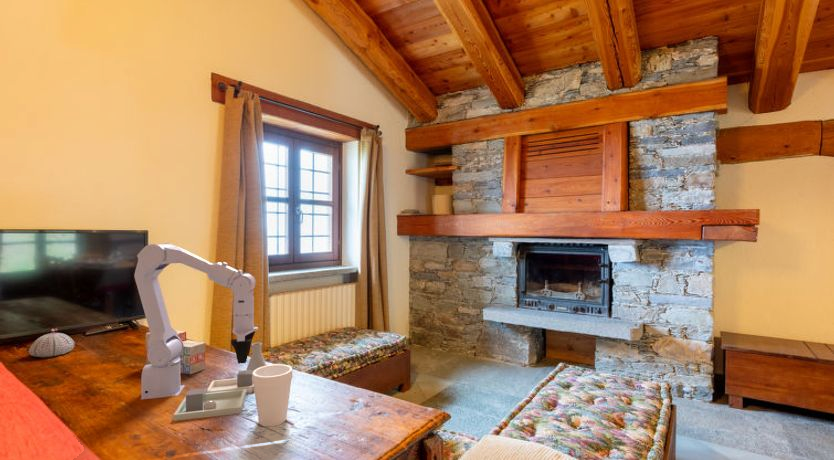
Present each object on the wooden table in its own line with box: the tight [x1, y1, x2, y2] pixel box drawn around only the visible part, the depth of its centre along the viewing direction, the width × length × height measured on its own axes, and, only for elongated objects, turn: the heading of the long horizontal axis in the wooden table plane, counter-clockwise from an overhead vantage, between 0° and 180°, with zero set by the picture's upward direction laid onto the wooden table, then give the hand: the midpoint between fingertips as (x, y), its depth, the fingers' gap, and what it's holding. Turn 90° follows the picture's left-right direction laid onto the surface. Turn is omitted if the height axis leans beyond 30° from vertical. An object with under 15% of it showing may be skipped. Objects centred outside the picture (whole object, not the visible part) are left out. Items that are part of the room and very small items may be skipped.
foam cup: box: [252, 363, 293, 427], centre depth 103 cm, size 10×9×13 cm
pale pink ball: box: [204, 400, 216, 410], centre depth 107 cm, size 3×3×3 cm
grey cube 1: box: [236, 369, 253, 387], centre depth 124 cm, size 4×4×4 cm
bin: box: [172, 389, 247, 422], centre depth 111 cm, size 16×13×2 cm
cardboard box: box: [145, 329, 206, 375], centre depth 143 cm, size 21×6×12 cm, turn 69°
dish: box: [206, 377, 255, 394], centre depth 123 cm, size 13×9×2 cm
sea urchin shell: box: [28, 332, 76, 358], centre depth 159 cm, size 13×14×8 cm
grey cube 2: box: [185, 387, 207, 412], centre depth 110 cm, size 4×4×4 cm
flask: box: [246, 342, 267, 371], centre depth 137 cm, size 7×7×10 cm
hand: (243, 359), depth 124 cm, fingers open, 7 cm apart
